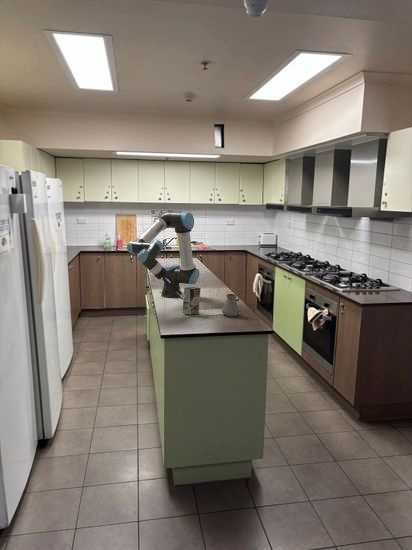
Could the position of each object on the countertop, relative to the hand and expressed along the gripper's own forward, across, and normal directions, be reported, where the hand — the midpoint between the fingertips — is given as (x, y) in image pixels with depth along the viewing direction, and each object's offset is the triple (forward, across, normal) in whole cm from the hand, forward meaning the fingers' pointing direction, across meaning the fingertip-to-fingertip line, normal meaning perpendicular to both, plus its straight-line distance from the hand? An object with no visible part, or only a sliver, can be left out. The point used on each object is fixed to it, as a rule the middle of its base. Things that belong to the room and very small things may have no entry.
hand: (184, 297), depth 246 cm
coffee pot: (+28, +11, +12) cm, 33 cm away
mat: (+21, -2, +6) cm, 22 cm away
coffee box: (+11, -1, -4) cm, 12 cm away
